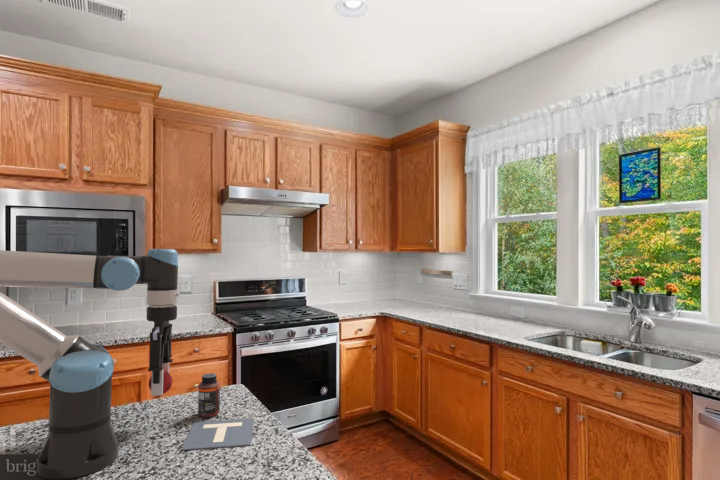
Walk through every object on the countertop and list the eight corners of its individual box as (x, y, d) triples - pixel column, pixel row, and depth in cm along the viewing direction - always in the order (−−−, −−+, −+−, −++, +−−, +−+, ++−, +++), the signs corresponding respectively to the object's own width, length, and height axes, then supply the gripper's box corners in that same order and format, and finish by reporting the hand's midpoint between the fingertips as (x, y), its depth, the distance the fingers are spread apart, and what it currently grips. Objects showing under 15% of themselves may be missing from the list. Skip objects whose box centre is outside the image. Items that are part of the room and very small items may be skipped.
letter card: (181, 450, 101) (181, 448, 101) (193, 423, 116) (194, 421, 116) (250, 445, 104) (250, 443, 104) (253, 419, 119) (253, 418, 119)
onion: (176, 393, 117) (176, 364, 117) (164, 400, 112) (165, 370, 112) (156, 392, 118) (156, 363, 118) (143, 399, 112) (144, 369, 112)
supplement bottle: (215, 408, 127) (216, 370, 127) (222, 415, 122) (223, 375, 123) (194, 413, 123) (195, 374, 123) (201, 420, 119) (202, 379, 119)
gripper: (168, 310, 107) (166, 402, 106) (184, 300, 125) (182, 379, 125) (136, 310, 105) (133, 404, 105) (156, 301, 124) (155, 381, 123)
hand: (160, 390), depth 115 cm, fingers closed on onion, 6 cm apart
